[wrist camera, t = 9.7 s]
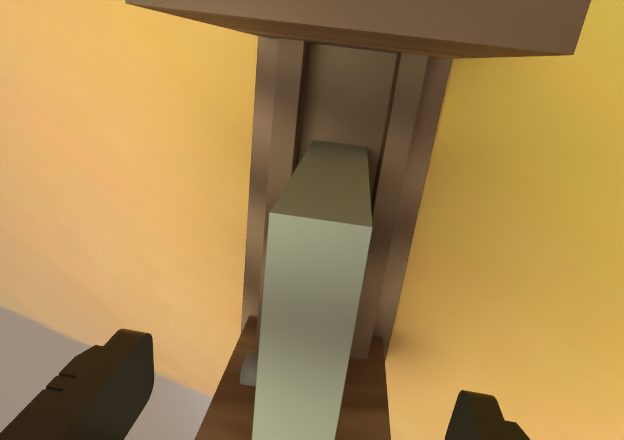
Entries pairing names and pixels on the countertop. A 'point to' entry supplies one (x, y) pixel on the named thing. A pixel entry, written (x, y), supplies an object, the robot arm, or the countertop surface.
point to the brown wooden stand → (357, 131)
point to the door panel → (311, 294)
